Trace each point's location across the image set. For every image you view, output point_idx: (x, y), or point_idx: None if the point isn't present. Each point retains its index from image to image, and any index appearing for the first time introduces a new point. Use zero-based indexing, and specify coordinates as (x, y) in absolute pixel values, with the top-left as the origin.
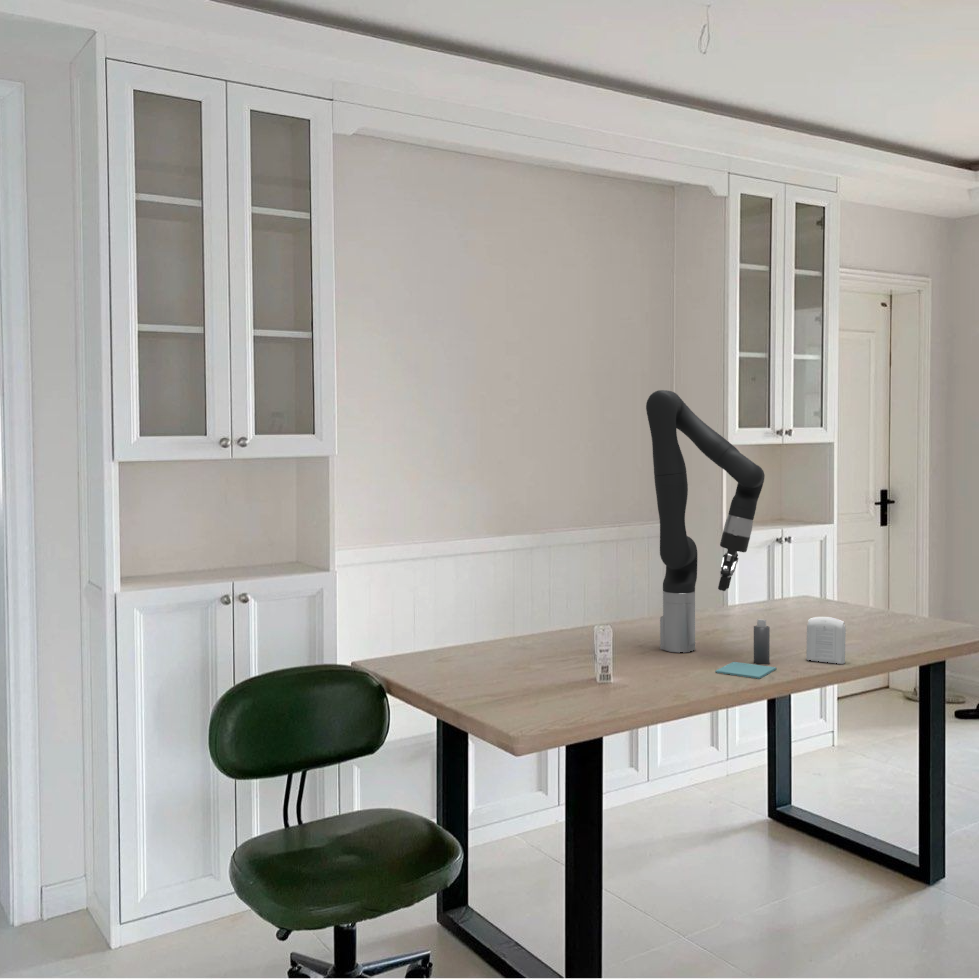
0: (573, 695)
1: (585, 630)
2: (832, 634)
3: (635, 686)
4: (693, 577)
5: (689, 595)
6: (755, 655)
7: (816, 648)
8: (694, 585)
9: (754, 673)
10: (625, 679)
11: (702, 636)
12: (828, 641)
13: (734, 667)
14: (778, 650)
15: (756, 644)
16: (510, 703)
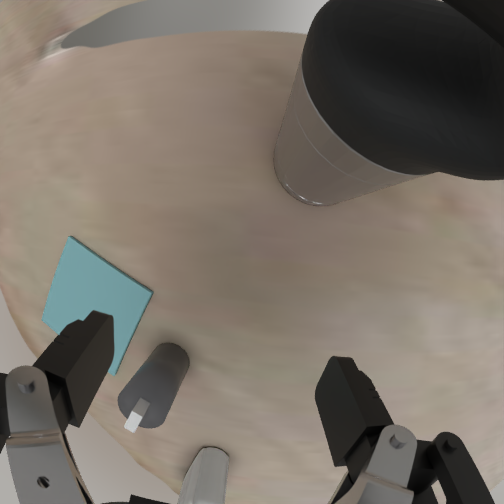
0: (10, 42)
1: None
2: None
3: (17, 97)
4: (446, 138)
5: (321, 129)
6: (153, 353)
7: (190, 474)
8: (392, 154)
9: (59, 317)
10: (51, 71)
11: (460, 247)
12: (180, 497)
13: (97, 285)
14: (311, 413)
15: (140, 367)
16: (12, 8)
